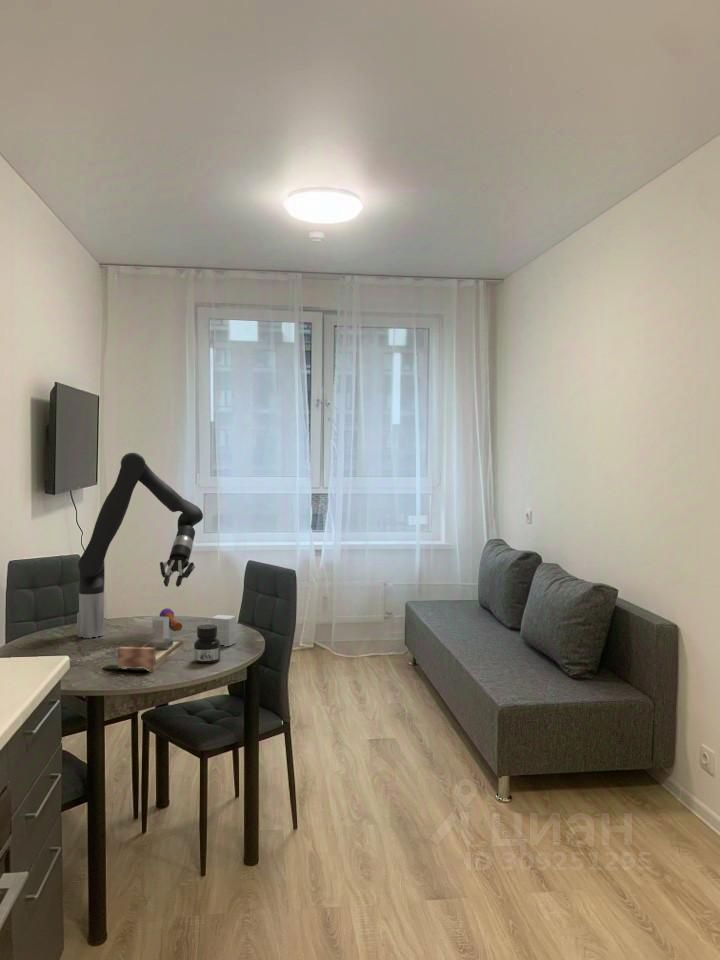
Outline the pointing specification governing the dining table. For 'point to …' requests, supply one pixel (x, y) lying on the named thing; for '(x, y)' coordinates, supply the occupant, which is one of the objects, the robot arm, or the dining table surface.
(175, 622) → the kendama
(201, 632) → the ink bottle
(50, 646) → the dining table surface
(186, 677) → the dining table surface
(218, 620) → the small box
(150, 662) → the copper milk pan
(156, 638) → the block
